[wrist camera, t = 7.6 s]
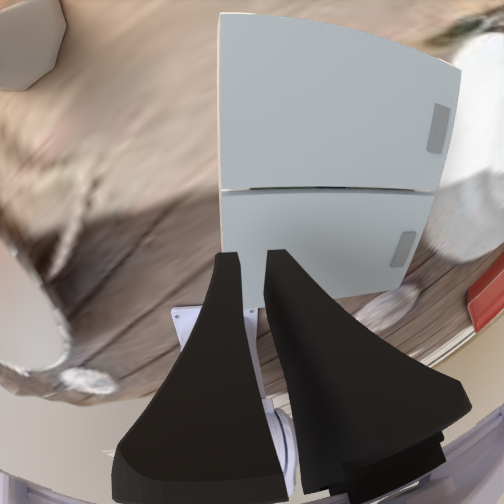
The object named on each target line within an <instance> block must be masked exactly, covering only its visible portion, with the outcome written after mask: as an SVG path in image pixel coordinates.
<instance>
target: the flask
mask: <svg viewBox="0 0 504 504" xmlns="http://www.w3.org/2000/svg"><path fill="white" fill-rule="evenodd" d="M66 27H67V26H66V23H65V20H64V16H63V13H62V9H61V6H60V2H59V0H26V1H23V2H20V3H17V4H15V5H12V6H10V7H7V8H5V9H3V10H0V91H25V90H26V89H27V88H28V87H30V86H31V85H32V84H33V83H35V82H36V81H37V80H38V79H40V78H41V77H42V76H44V75H45V74H46V73H48V72H49V71H50V70H52V69H53V68H54V67H55V63H56V59H57V55H58V52H59V48H60V45H61V42H62V39H63V36H64V32H65V30H66Z"/></svg>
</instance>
